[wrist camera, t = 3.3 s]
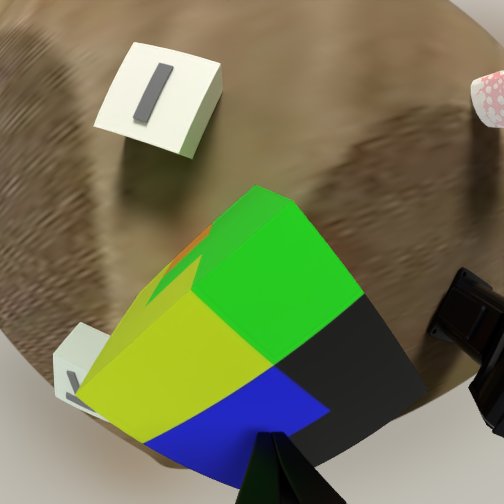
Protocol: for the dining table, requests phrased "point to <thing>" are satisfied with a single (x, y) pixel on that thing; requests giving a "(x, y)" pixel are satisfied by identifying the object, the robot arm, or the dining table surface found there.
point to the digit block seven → (77, 363)
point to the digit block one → (162, 98)
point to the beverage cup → (489, 99)
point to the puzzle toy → (251, 348)
